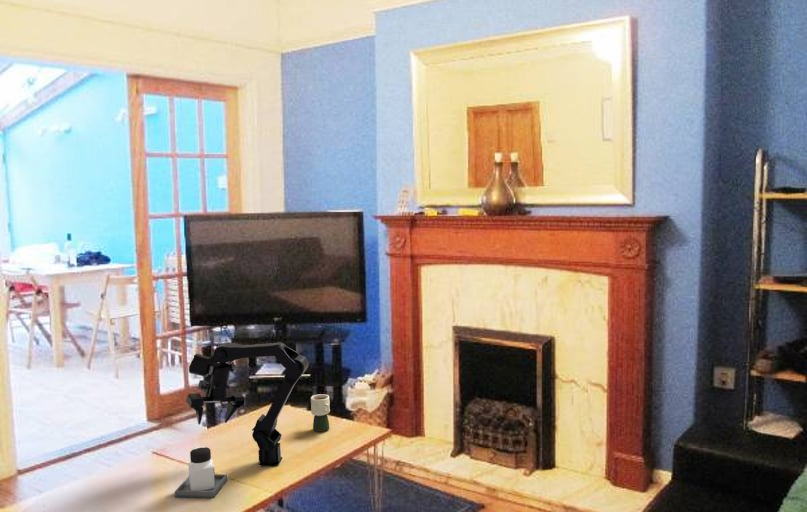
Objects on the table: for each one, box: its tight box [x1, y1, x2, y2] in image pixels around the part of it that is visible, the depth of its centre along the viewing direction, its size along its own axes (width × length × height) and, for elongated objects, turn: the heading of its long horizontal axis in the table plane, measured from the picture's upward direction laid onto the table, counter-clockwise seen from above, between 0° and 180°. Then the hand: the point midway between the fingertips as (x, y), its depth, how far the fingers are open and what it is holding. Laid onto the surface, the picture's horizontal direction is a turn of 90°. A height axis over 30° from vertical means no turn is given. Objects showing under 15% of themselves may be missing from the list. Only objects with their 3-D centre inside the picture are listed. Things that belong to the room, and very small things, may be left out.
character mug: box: [310, 393, 331, 432], centre depth 251 cm, size 11×7×13 cm, turn 43°
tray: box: [174, 473, 228, 499], centre depth 204 cm, size 12×12×2 cm
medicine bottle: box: [187, 446, 216, 491], centre depth 204 cm, size 7×7×12 cm
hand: (212, 423), depth 224 cm, fingers open, 9 cm apart
